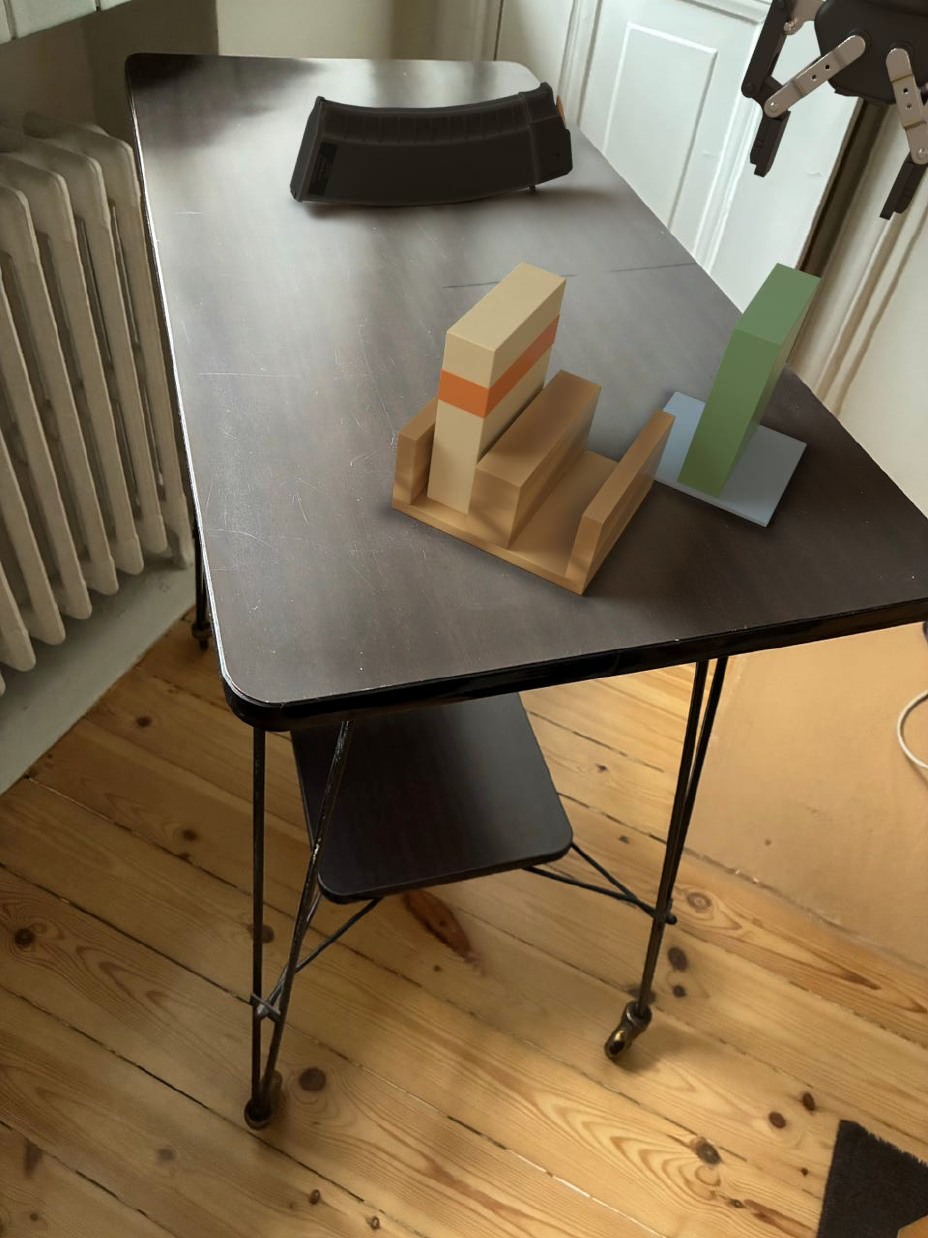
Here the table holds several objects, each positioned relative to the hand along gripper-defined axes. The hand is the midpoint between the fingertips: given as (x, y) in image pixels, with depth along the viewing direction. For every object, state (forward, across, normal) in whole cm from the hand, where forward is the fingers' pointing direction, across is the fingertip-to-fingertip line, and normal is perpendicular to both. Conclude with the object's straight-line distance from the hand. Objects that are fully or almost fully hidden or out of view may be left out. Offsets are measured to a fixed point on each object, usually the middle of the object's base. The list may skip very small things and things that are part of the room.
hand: (823, 193), depth 65 cm
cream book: (+21, -15, -14) cm, 30 cm away
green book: (+22, 0, 0) cm, 22 cm away
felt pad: (+22, 0, 0) cm, 22 cm away
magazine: (+22, -40, +23) cm, 51 cm away
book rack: (+22, -11, -14) cm, 29 cm away
